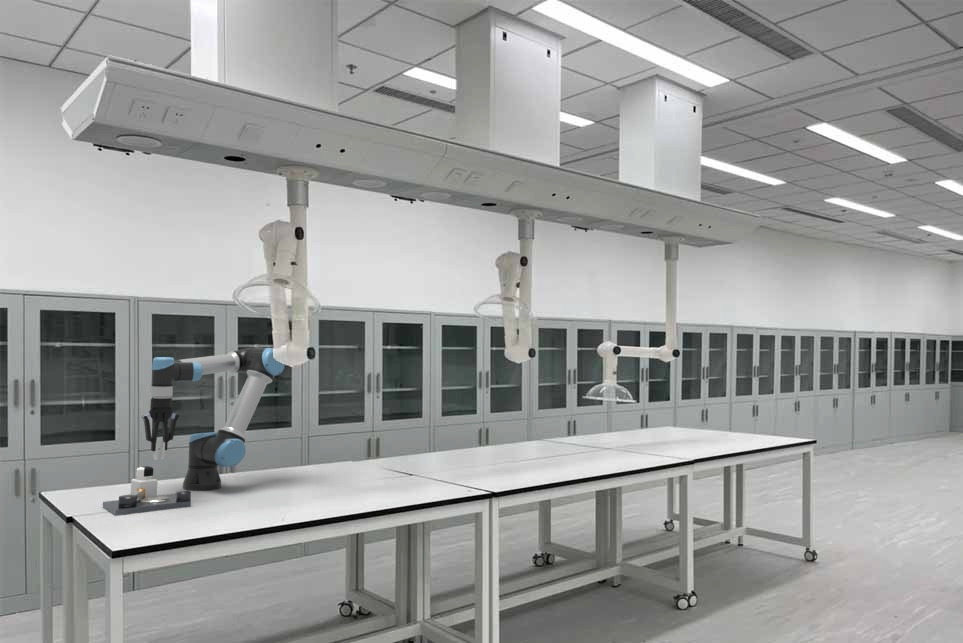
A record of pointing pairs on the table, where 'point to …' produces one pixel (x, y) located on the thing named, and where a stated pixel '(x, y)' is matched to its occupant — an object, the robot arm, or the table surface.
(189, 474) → the robot arm
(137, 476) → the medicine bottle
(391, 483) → the table surface
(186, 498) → the knob
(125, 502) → the ball lever handle
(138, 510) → the dark grey base plate
